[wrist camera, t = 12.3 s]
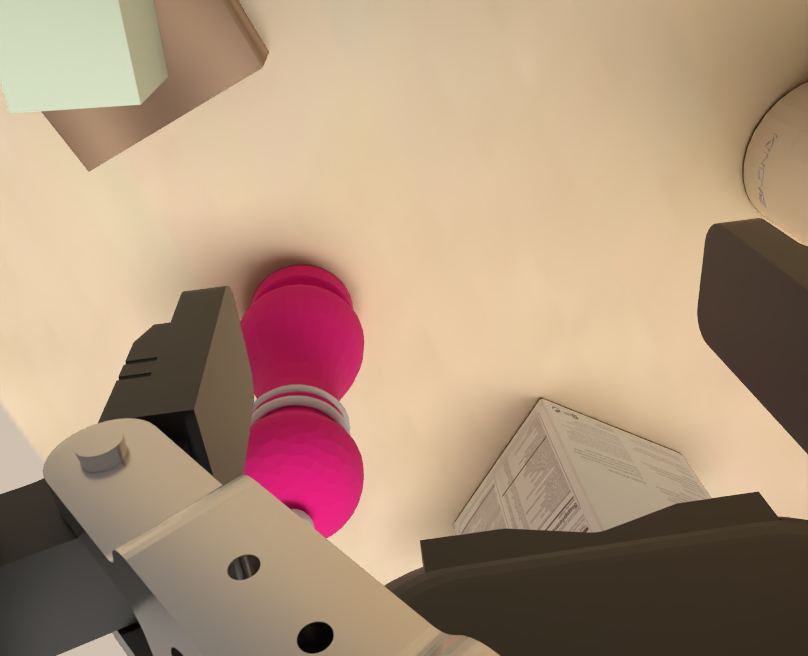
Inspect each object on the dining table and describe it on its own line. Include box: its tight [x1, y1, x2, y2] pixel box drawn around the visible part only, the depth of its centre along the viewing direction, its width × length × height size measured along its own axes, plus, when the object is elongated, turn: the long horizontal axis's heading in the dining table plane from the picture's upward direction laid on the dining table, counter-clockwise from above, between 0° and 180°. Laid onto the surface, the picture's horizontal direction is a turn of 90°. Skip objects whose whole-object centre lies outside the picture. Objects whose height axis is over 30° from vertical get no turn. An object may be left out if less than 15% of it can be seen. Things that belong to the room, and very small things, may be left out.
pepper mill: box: [240, 265, 364, 538], centre depth 37 cm, size 7×7×20 cm
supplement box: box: [454, 399, 711, 535], centre depth 48 cm, size 13×13×18 cm
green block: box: [0, 0, 168, 113], centre depth 30 cm, size 5×5×6 cm
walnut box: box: [41, 0, 269, 171], centre depth 35 cm, size 10×10×5 cm
